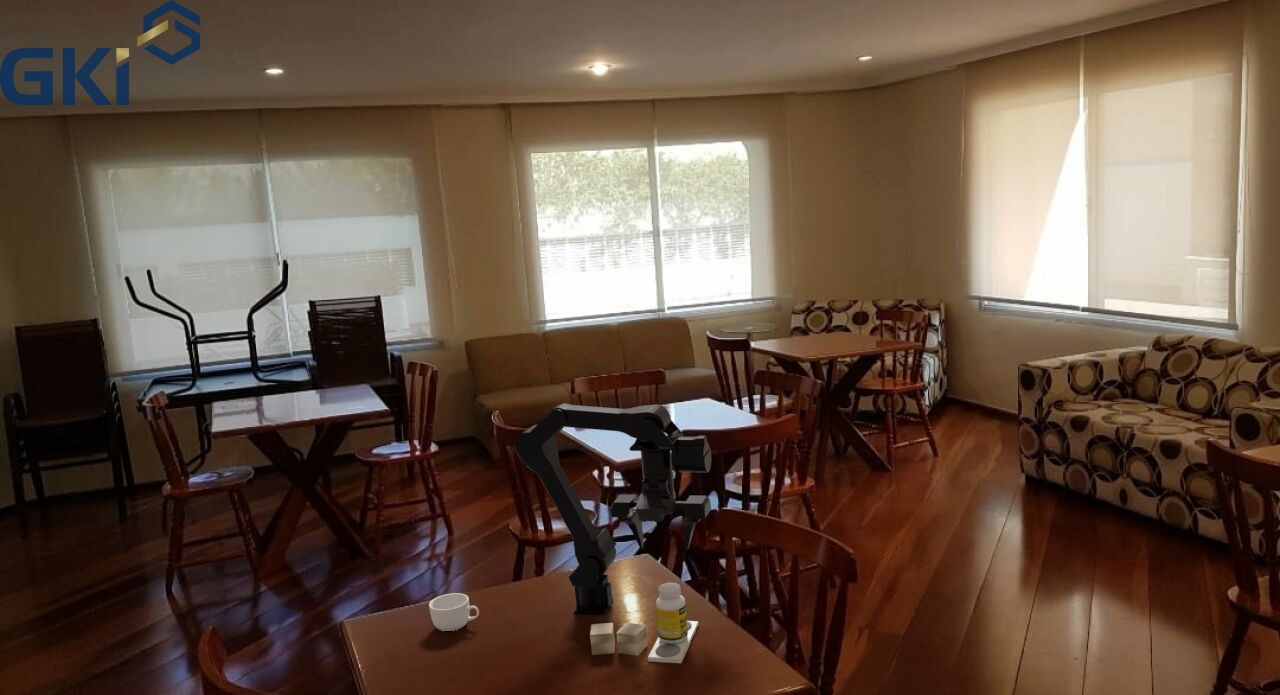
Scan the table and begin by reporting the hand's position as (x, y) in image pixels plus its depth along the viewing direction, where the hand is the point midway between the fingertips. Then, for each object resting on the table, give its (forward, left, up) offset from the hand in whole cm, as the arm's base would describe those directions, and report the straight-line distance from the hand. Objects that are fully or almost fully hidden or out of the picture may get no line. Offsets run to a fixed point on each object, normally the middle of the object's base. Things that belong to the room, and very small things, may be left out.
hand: (664, 548), depth 176 cm
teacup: (-41, -11, -13) cm, 45 cm away
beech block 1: (-8, -16, -13) cm, 22 cm away
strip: (+4, -12, -13) cm, 18 cm away
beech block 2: (-3, -15, -13) cm, 20 cm away
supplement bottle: (+4, -12, -12) cm, 18 cm away
